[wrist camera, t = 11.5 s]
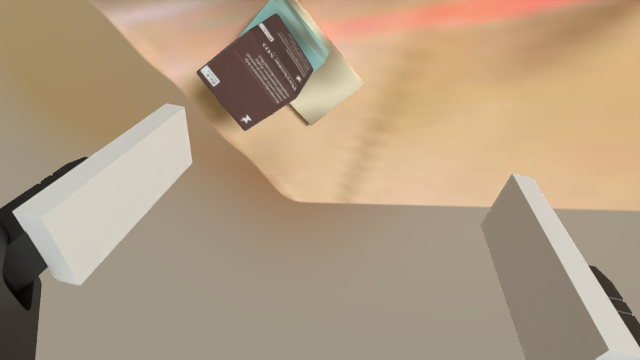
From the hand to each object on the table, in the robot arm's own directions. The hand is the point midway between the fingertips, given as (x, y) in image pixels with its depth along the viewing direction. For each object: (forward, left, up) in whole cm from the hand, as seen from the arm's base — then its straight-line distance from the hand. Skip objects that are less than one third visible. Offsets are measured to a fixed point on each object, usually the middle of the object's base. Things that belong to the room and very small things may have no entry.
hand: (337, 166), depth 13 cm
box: (-5, -8, -20) cm, 22 cm away
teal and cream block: (-2, -7, -24) cm, 26 cm away
